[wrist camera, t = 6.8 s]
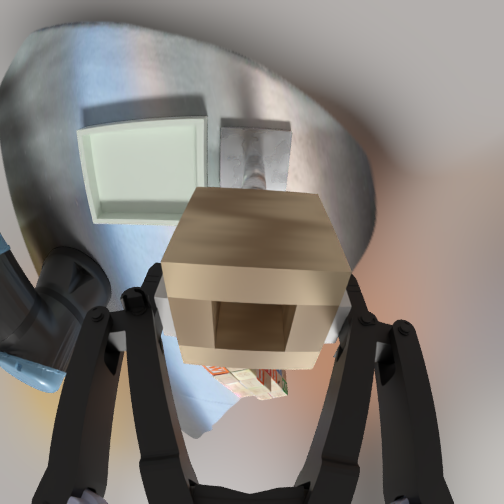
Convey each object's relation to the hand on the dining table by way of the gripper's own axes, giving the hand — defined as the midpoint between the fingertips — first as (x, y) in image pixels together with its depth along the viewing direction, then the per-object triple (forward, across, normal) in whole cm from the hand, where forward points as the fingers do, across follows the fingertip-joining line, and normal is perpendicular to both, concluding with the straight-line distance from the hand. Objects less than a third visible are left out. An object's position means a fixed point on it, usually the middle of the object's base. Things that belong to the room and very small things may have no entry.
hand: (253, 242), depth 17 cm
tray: (+18, -14, -2) cm, 23 cm away
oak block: (0, 0, 0) cm, 0 cm away
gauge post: (+18, 0, 0) cm, 18 cm away
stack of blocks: (+18, +2, -34) cm, 38 cm away
